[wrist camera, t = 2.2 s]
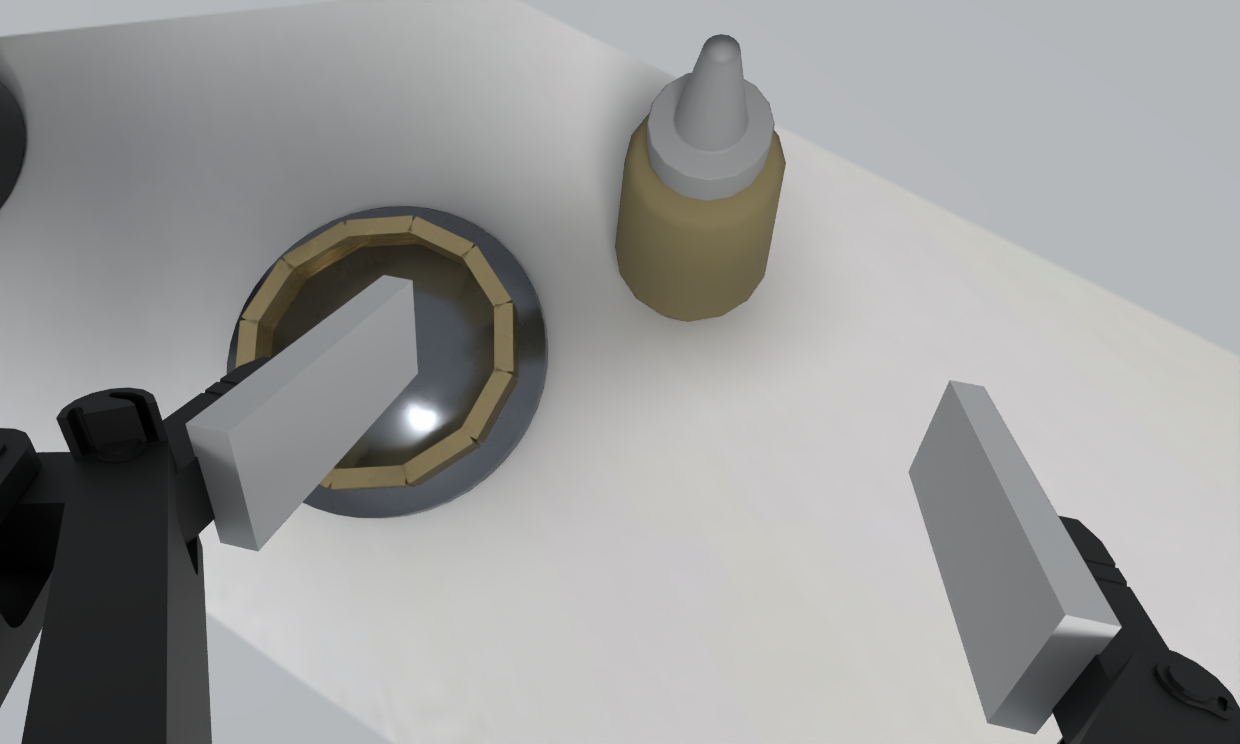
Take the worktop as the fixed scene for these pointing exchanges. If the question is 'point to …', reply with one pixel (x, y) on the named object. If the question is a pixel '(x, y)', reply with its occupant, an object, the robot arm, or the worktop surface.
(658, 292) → the squeeze bottle
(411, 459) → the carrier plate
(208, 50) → the worktop surface
